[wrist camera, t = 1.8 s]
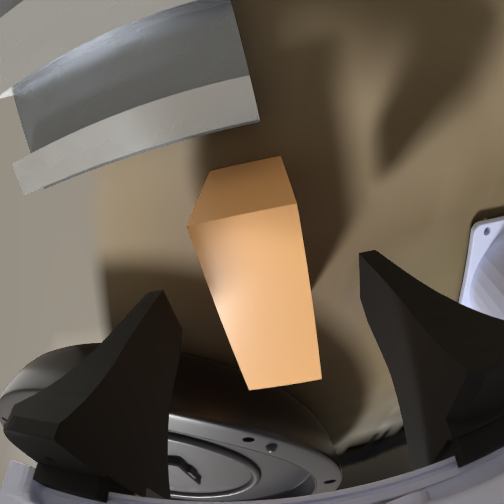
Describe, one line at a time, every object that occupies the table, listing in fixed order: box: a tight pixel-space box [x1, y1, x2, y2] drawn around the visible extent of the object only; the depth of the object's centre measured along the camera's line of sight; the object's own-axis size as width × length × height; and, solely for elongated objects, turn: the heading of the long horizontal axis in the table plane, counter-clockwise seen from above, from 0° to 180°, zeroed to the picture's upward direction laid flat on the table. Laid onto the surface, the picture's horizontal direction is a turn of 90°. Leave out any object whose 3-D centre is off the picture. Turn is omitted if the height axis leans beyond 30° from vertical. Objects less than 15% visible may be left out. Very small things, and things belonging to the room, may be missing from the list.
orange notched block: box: [187, 156, 322, 390], centre depth 13 cm, size 3×8×5 cm, turn 13°
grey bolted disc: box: [0, 343, 342, 502], centre depth 23 cm, size 30×6×30 cm
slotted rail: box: [0, 0, 260, 195], centre depth 8 cm, size 10×13×2 cm
